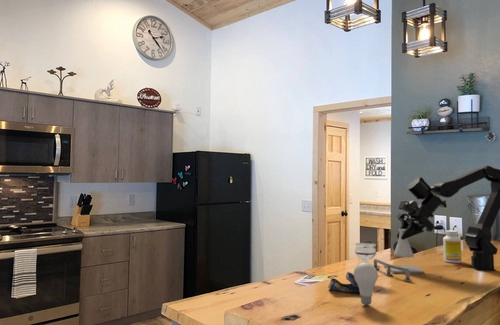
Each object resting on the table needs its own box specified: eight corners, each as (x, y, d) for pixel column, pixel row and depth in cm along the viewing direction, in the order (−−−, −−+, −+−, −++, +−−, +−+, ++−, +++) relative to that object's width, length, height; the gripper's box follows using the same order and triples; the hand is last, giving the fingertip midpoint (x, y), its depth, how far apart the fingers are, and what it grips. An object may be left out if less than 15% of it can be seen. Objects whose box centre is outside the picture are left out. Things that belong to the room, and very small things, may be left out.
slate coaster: (413, 267, 151) (412, 265, 151) (424, 273, 140) (424, 271, 140) (384, 267, 151) (384, 265, 151) (393, 273, 140) (393, 271, 140)
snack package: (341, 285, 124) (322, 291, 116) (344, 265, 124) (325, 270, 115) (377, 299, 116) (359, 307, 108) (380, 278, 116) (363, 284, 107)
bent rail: (376, 268, 149) (376, 258, 149) (413, 281, 128) (413, 269, 128) (368, 268, 148) (367, 258, 149) (403, 282, 127) (403, 270, 127)
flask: (411, 258, 141) (411, 230, 142) (391, 256, 145) (390, 229, 146) (416, 255, 147) (415, 229, 148) (396, 254, 151) (395, 228, 152)
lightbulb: (350, 302, 104) (350, 260, 105) (372, 302, 105) (372, 260, 105) (359, 309, 98) (358, 265, 99) (382, 308, 99) (381, 264, 99)
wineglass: (380, 281, 128) (379, 244, 129) (371, 284, 124) (370, 246, 124) (361, 277, 133) (360, 242, 134) (351, 281, 128) (351, 244, 129)
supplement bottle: (464, 263, 160) (463, 231, 161) (448, 263, 160) (447, 231, 161) (456, 260, 166) (455, 230, 167) (440, 260, 167) (439, 230, 167)
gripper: (400, 193, 157) (374, 221, 155) (424, 193, 139) (395, 225, 137) (419, 212, 157) (394, 240, 156) (446, 215, 139) (418, 247, 137)
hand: (399, 238), depth 146 cm, fingers closed on flask, 3 cm apart
